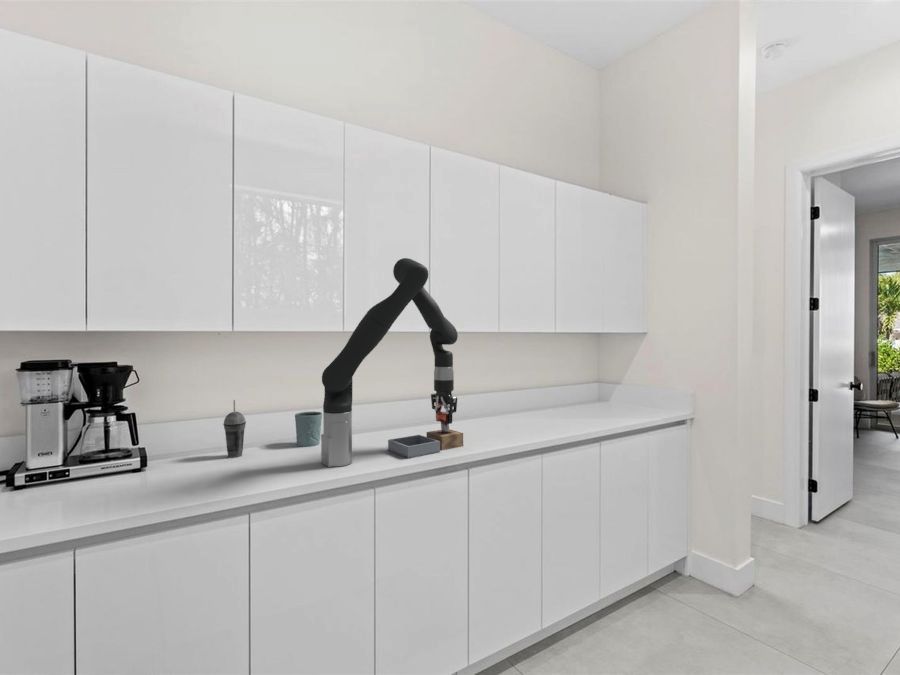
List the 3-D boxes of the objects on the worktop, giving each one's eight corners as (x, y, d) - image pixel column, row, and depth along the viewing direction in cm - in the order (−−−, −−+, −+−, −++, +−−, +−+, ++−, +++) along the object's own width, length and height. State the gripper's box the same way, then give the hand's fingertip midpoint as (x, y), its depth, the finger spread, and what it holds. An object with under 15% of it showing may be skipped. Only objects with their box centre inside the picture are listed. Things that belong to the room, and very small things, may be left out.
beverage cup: (246, 452, 170) (246, 397, 170) (245, 457, 163) (245, 400, 163) (224, 454, 167) (224, 398, 167) (222, 459, 160) (222, 401, 160)
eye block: (442, 450, 171) (441, 436, 171) (426, 445, 179) (426, 432, 179) (463, 446, 178) (463, 432, 177) (447, 441, 185) (447, 428, 185)
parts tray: (408, 458, 160) (407, 446, 160) (388, 450, 171) (388, 439, 171) (440, 452, 169) (439, 441, 169) (419, 445, 180) (419, 434, 179)
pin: (457, 439, 178) (454, 410, 178) (444, 443, 175) (441, 413, 174) (448, 437, 183) (445, 408, 183) (435, 440, 180) (432, 411, 179)
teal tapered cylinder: (290, 444, 182) (290, 413, 182) (314, 439, 189) (313, 410, 189) (303, 448, 175) (302, 416, 175) (327, 444, 182) (327, 413, 182)
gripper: (463, 379, 175) (463, 424, 175) (440, 376, 186) (440, 418, 187) (447, 380, 170) (447, 426, 171) (424, 377, 182) (425, 420, 182)
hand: (443, 422), depth 179 cm, fingers closed on pin, 6 cm apart
